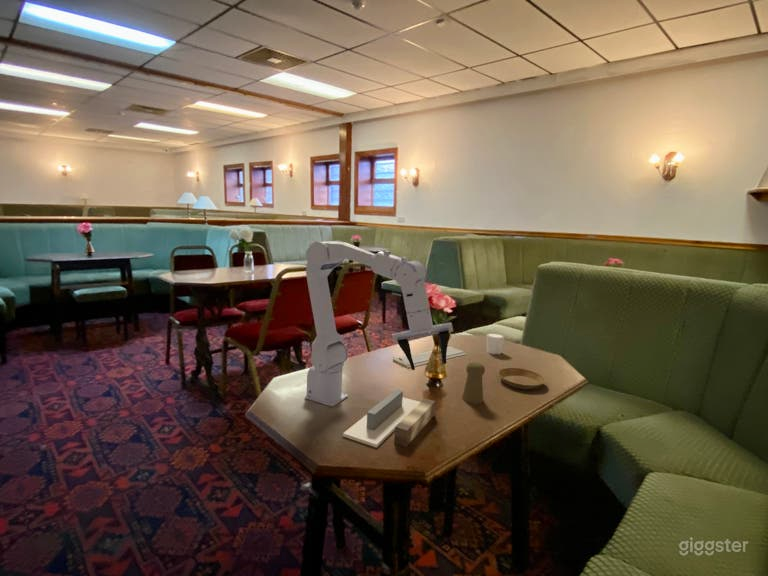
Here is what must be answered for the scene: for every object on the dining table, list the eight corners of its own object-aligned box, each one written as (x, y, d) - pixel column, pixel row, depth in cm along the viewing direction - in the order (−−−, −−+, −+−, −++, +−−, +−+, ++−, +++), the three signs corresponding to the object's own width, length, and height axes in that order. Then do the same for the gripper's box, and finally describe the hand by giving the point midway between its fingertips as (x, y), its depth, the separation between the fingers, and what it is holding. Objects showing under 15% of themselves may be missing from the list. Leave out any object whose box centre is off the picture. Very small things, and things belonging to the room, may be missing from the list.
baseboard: (469, 357, 162) (450, 350, 170) (469, 350, 162) (450, 343, 169) (410, 371, 144) (392, 362, 151) (411, 363, 143) (392, 355, 151)
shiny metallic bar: (406, 447, 95) (407, 430, 95) (394, 443, 97) (395, 426, 96) (434, 415, 111) (435, 401, 110) (423, 412, 112) (424, 398, 112)
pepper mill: (486, 398, 123) (489, 363, 121) (478, 405, 118) (482, 369, 117) (467, 393, 127) (470, 358, 125) (458, 399, 122) (462, 363, 120)
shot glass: (486, 354, 165) (488, 337, 163) (483, 349, 171) (485, 332, 170) (504, 355, 164) (506, 338, 163) (500, 350, 171) (502, 333, 170)
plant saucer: (551, 384, 138) (552, 376, 138) (534, 397, 127) (535, 388, 127) (508, 371, 148) (509, 364, 147) (489, 382, 137) (490, 375, 136)
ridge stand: (342, 436, 98) (343, 416, 97) (391, 396, 121) (392, 380, 120) (376, 447, 94) (377, 427, 93) (420, 404, 117) (421, 387, 116)
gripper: (388, 318, 96) (400, 375, 97) (450, 306, 96) (461, 363, 97) (388, 315, 103) (398, 369, 104) (445, 304, 104) (455, 357, 104)
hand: (428, 366), depth 101 cm, fingers open, 7 cm apart
